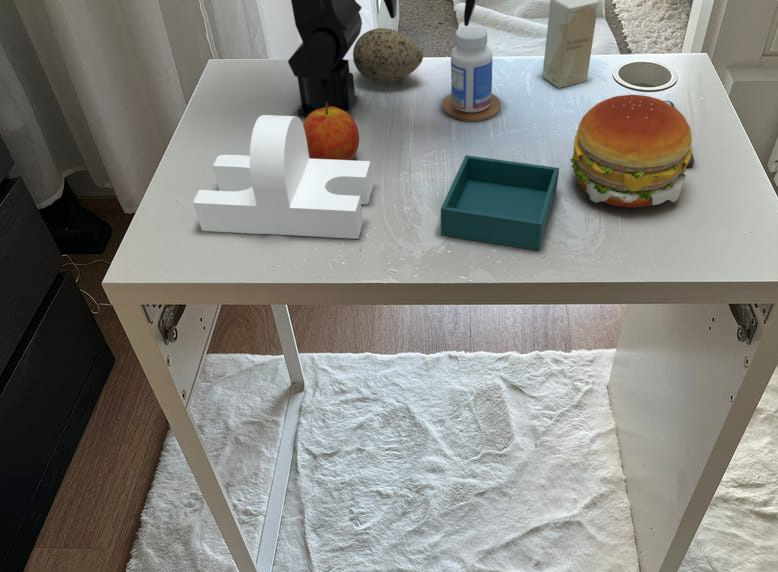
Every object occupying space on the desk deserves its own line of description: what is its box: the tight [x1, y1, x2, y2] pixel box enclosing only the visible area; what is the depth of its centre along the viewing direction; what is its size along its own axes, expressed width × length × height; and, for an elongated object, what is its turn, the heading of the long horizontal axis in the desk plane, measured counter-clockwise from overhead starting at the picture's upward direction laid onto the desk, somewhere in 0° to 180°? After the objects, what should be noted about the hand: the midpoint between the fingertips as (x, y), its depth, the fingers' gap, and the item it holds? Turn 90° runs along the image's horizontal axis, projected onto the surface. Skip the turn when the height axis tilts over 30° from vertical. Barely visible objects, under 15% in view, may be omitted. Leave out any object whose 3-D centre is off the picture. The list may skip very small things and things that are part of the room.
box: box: [542, 0, 599, 89], centre depth 105 cm, size 5×4×11 cm
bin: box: [440, 154, 560, 251], centre depth 86 cm, size 11×11×4 cm
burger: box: [569, 93, 693, 209], centre depth 87 cm, size 13×14×10 cm
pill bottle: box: [450, 25, 493, 113], centre depth 101 cm, size 6×5×10 cm
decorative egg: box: [352, 27, 424, 84], centre depth 107 cm, size 7×7×10 cm
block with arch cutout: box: [192, 114, 373, 240], centre depth 85 cm, size 18×10×11 cm, turn 84°
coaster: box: [441, 93, 502, 122], centre depth 104 cm, size 8×8×1 cm
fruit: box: [302, 102, 360, 160], centre depth 92 cm, size 7×7×8 cm
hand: (429, 20), depth 93 cm, fingers open, 9 cm apart
